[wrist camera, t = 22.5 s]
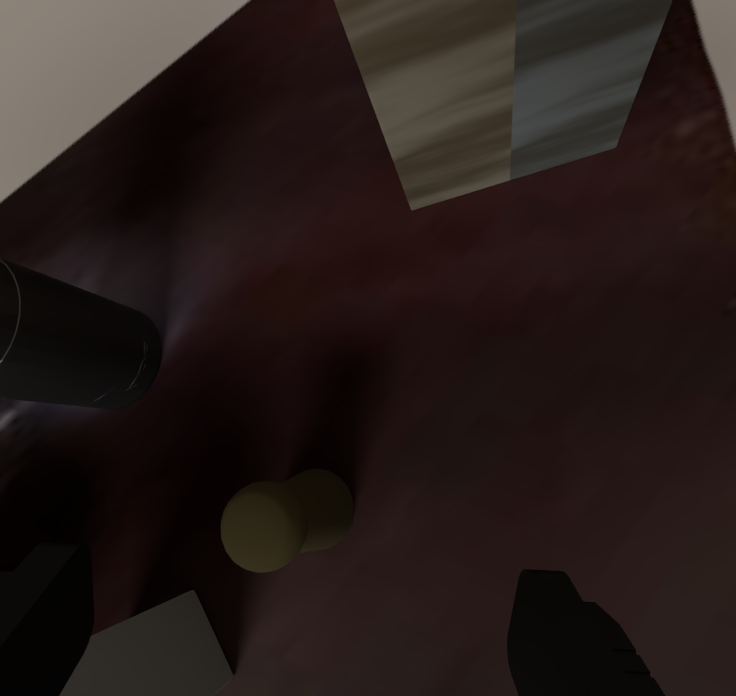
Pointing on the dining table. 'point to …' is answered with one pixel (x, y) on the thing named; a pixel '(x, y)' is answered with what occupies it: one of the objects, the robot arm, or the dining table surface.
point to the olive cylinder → (286, 519)
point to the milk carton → (154, 655)
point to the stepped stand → (498, 83)
